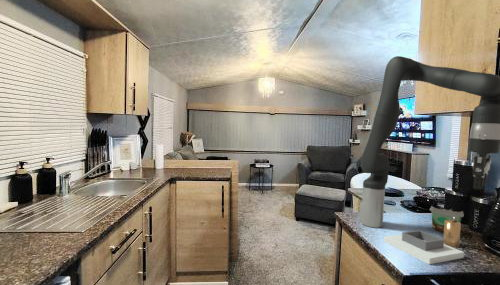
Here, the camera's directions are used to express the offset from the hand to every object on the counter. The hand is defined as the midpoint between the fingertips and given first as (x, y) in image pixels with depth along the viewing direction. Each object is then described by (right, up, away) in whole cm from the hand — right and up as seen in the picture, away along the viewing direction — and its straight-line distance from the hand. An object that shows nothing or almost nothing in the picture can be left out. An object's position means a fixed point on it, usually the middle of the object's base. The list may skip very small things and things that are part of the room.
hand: (479, 187), depth 86 cm
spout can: (+4, -25, +17) cm, 31 cm away
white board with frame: (-11, -25, +12) cm, 30 cm away
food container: (+12, -25, +31) cm, 41 cm away
